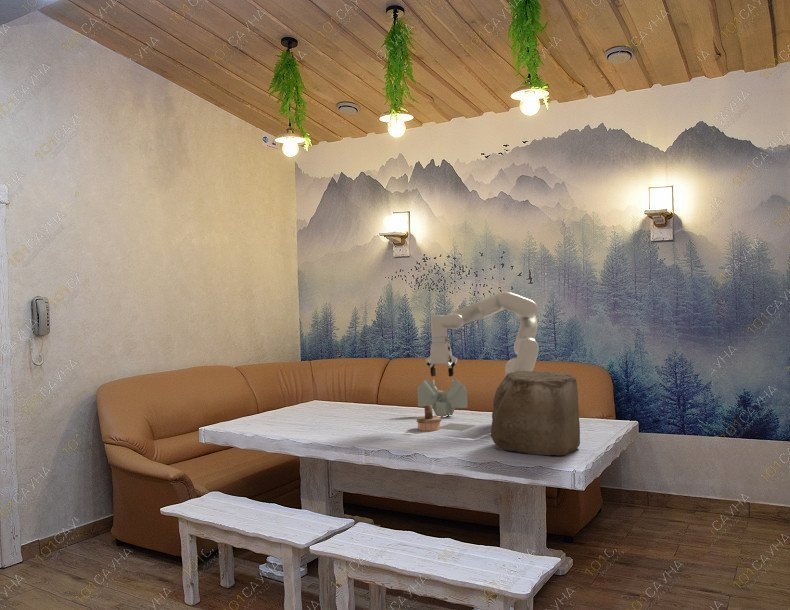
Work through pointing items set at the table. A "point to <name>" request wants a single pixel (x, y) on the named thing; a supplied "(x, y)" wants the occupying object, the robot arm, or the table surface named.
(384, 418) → the table surface
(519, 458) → the table surface
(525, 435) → the stone block
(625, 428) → the table surface
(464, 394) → the bracket
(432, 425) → the bowl
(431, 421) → the lid
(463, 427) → the trivet
